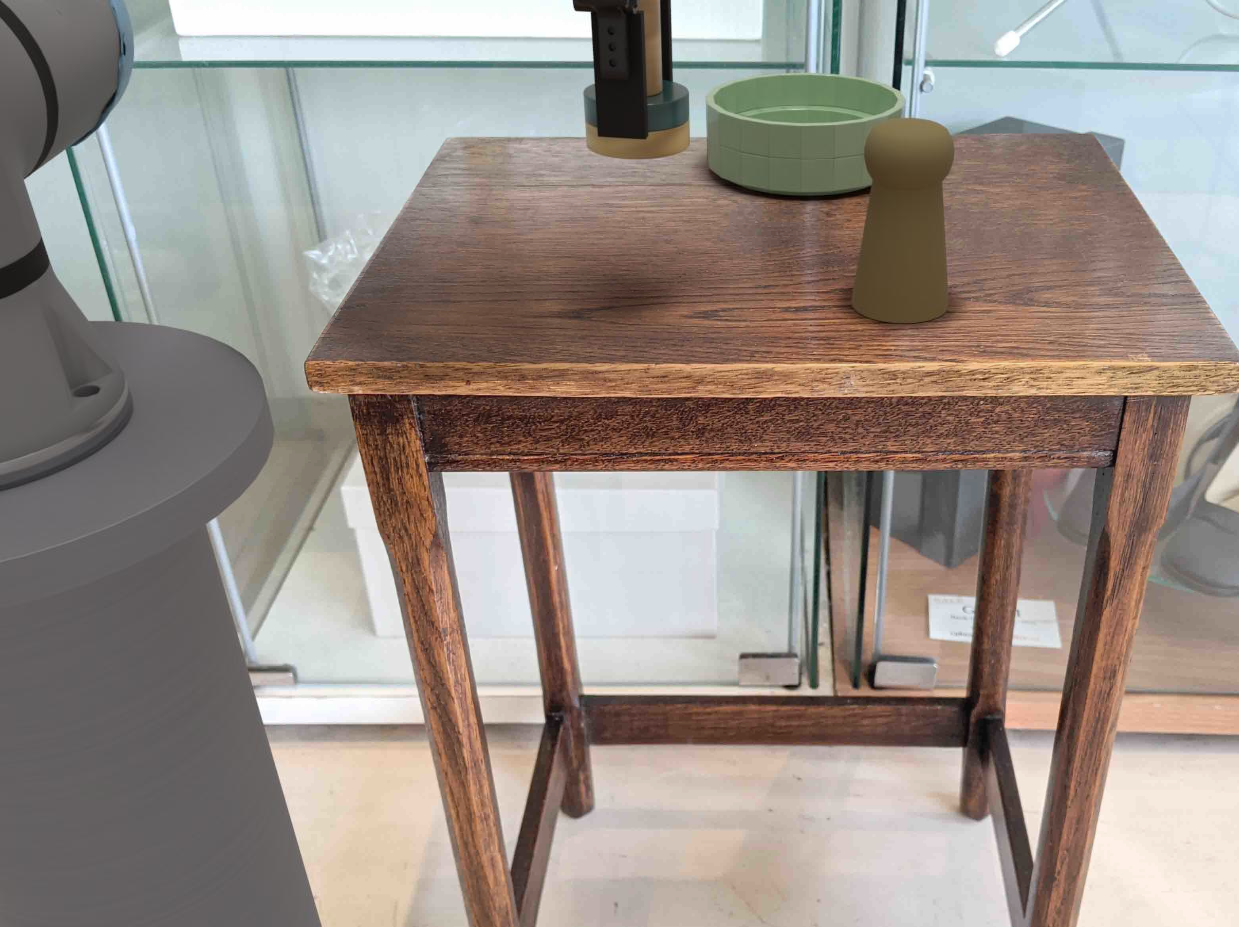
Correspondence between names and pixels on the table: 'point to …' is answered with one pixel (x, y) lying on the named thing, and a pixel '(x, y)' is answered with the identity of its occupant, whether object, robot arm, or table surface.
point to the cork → (904, 223)
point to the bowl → (796, 131)
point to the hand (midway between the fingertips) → (637, 119)
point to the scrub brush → (662, 104)
